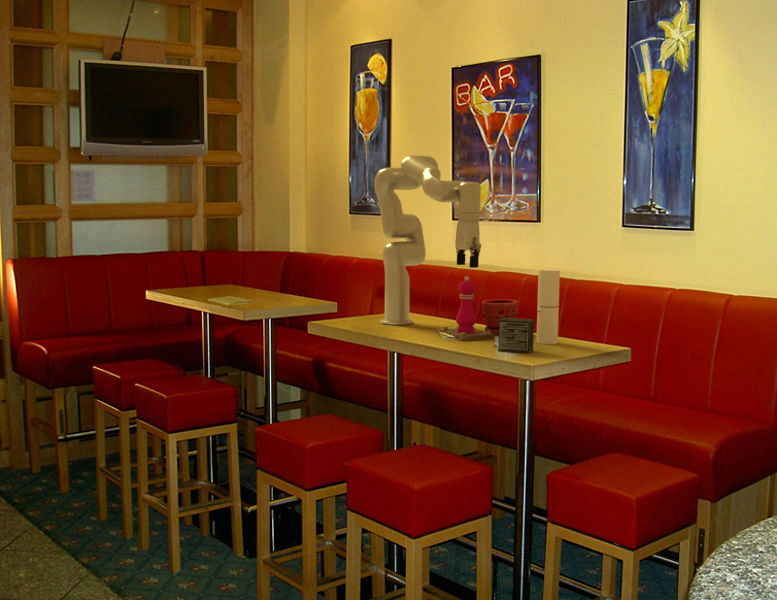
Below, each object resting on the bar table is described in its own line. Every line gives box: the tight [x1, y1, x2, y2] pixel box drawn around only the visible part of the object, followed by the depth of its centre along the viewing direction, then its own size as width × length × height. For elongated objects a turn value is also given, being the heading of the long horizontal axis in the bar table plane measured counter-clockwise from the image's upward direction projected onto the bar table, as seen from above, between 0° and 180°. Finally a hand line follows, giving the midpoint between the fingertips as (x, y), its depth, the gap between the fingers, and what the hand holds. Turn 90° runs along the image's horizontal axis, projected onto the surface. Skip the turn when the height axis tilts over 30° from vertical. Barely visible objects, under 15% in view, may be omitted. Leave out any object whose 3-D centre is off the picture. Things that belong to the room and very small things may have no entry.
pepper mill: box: [455, 275, 477, 333], centre depth 333 cm, size 7×7×20 cm
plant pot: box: [481, 298, 519, 336], centre depth 342 cm, size 13×13×12 cm
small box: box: [497, 318, 535, 354], centre depth 304 cm, size 11×6×10 cm, turn 69°
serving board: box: [439, 326, 496, 342], centre depth 333 cm, size 17×13×3 cm
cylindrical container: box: [536, 268, 561, 345], centre depth 321 cm, size 7×7×25 cm
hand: (467, 266), depth 331 cm, fingers open, 9 cm apart
